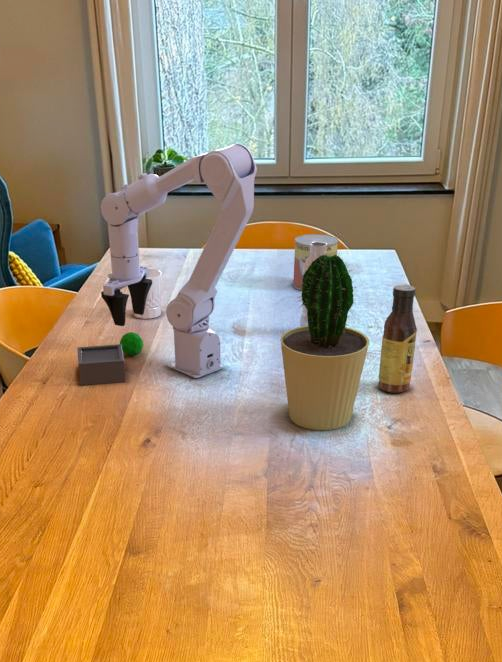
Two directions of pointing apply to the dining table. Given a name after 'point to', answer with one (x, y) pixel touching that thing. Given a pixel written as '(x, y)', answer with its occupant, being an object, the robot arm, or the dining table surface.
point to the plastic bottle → (315, 251)
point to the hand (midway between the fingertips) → (129, 319)
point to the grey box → (101, 364)
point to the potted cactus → (324, 349)
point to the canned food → (303, 253)
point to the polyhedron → (131, 344)
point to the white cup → (153, 296)
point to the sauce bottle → (398, 342)
